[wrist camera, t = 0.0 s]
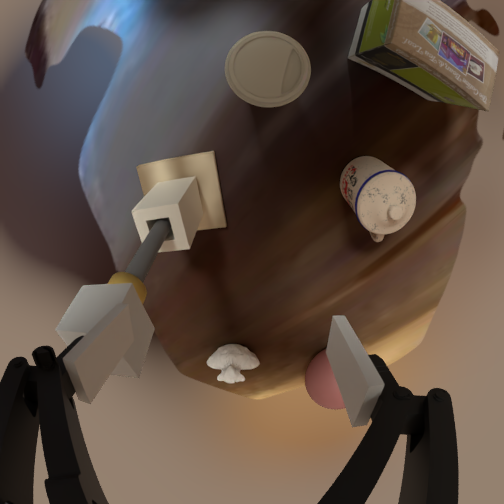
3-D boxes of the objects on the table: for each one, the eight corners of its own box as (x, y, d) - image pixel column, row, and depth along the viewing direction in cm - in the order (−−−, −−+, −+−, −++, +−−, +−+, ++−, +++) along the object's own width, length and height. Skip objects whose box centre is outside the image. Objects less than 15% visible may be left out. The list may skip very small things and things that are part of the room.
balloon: (303, 380, 70) (308, 428, 57) (300, 338, 59) (308, 397, 46) (356, 371, 68) (367, 417, 55) (365, 327, 57) (383, 382, 44)
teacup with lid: (335, 156, 37) (363, 181, 27) (389, 152, 36) (429, 176, 26) (339, 227, 43) (361, 269, 34) (388, 220, 42) (419, 258, 33)
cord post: (169, 213, 41) (88, 371, 17) (162, 184, 38) (55, 329, 15) (200, 209, 41) (139, 377, 17) (193, 178, 38) (107, 334, 14)
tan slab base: (157, 232, 44) (156, 235, 43) (138, 165, 38) (136, 166, 37) (226, 224, 43) (226, 227, 42) (214, 150, 37) (213, 152, 36)
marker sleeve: (166, 218, 41) (145, 253, 33) (157, 182, 38) (131, 211, 29) (203, 213, 41) (189, 249, 32) (195, 176, 37) (177, 203, 29)
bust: (259, 340, 62) (259, 353, 51) (259, 369, 62) (259, 387, 51) (209, 340, 63) (199, 352, 52) (210, 368, 62) (201, 386, 51)
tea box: (439, 52, 25) (502, 52, 13) (427, 101, 31) (490, 116, 18) (359, 6, 23) (406, -25, 11) (344, 58, 29) (391, 45, 16)
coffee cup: (265, 116, 34) (269, 125, 24) (219, 76, 31) (203, 69, 21) (309, 77, 31) (332, 70, 21) (264, 35, 27) (268, 11, 17)
